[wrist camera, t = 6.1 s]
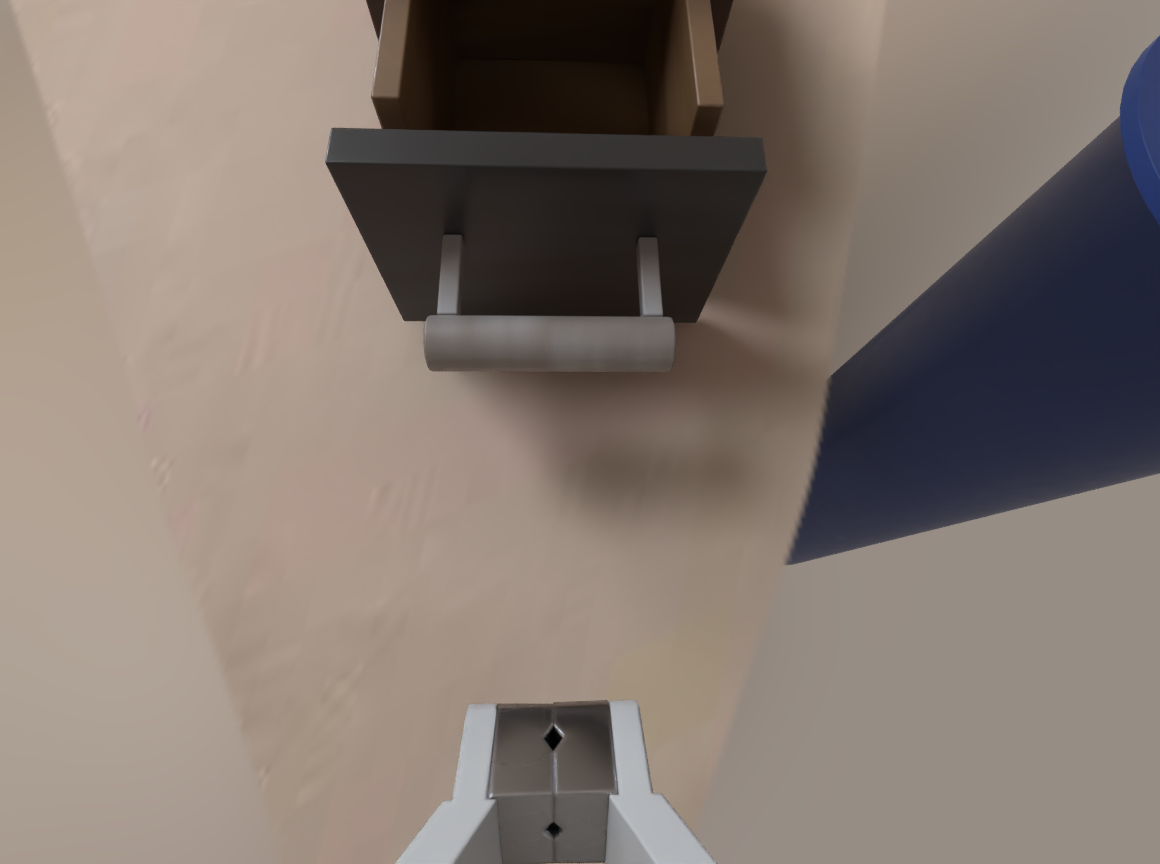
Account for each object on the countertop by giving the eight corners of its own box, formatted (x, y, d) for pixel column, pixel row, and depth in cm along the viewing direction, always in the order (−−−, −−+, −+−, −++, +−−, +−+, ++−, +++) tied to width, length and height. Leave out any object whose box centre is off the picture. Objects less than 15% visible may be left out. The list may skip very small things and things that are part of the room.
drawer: (706, 426, 21) (791, 315, 13) (393, 427, 20) (298, 312, 13) (672, 75, 27) (717, -138, 19) (428, 68, 26) (378, -154, 19)
